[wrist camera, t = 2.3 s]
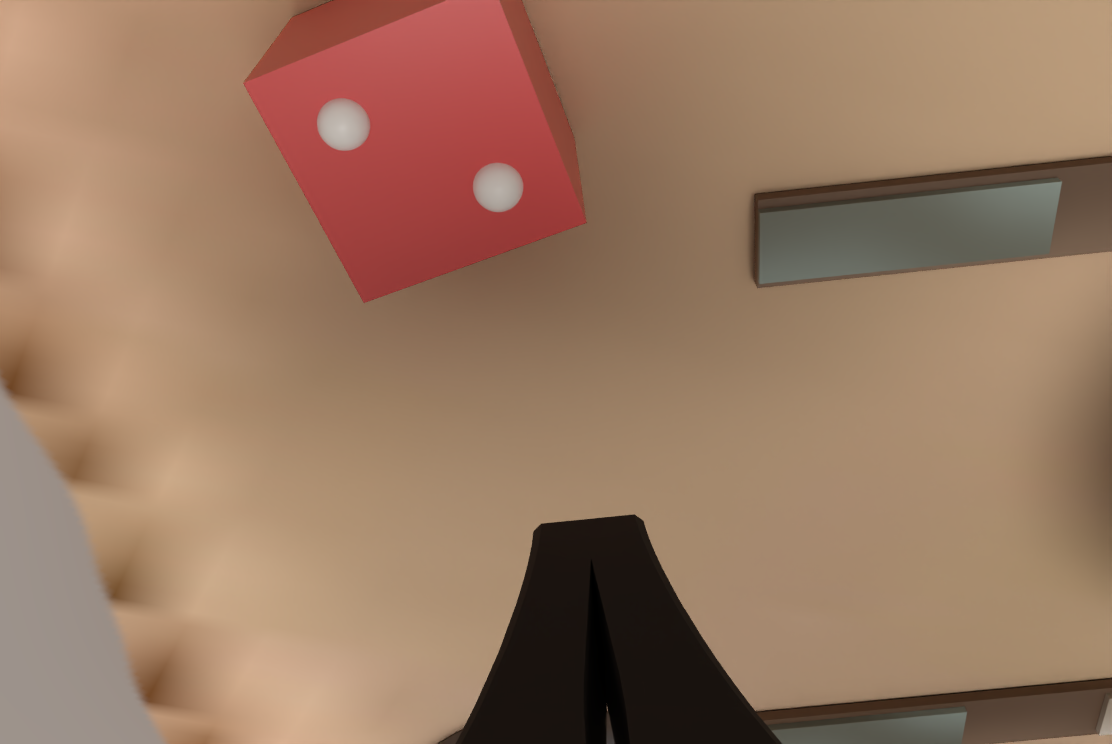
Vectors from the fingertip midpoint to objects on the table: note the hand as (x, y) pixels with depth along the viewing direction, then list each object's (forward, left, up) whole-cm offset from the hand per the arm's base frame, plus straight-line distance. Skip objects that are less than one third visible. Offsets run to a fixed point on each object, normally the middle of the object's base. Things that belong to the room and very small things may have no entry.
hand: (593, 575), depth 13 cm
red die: (+4, +2, -9) cm, 10 cm away
